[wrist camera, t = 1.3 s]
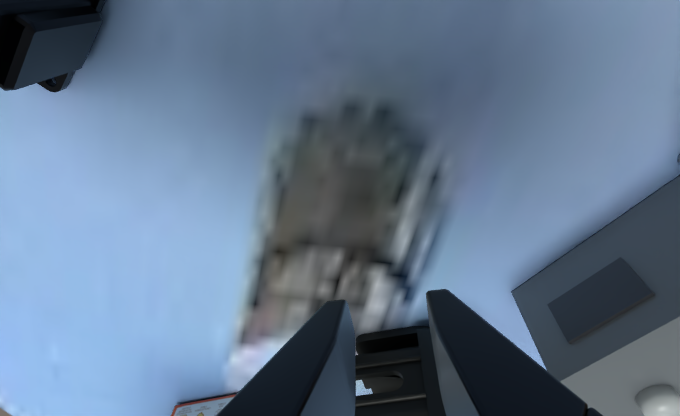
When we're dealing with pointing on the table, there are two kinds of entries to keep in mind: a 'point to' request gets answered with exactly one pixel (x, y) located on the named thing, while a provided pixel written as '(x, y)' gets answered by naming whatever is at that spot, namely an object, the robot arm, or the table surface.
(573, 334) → the block
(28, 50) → the robot arm
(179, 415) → the cracker box
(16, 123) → the table surface
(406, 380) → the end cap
